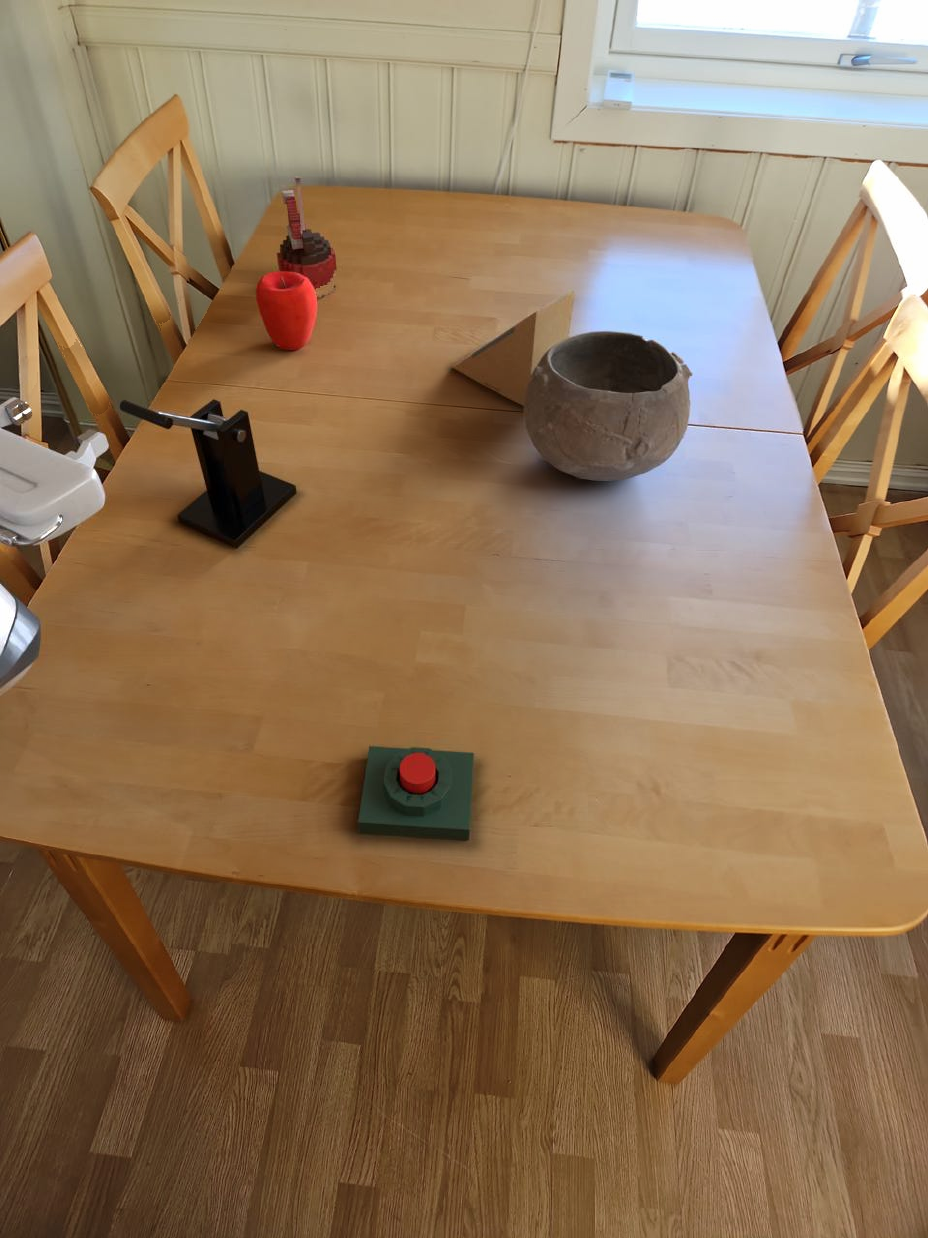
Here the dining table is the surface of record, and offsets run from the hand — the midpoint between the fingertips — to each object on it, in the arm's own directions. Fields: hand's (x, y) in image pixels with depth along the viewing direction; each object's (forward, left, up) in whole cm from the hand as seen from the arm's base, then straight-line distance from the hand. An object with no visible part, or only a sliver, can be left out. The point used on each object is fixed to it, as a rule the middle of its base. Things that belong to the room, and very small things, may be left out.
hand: (62, 421), depth 75 cm
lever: (+2, +13, -9) cm, 16 cm away
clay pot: (+42, +46, -24) cm, 67 cm away
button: (+40, -11, -20) cm, 46 cm away
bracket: (+3, +18, -24) cm, 30 cm away
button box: (+40, -11, -24) cm, 48 cm away
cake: (-16, +72, -24) cm, 78 cm away
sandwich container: (+24, +60, -24) cm, 69 cm away
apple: (-10, +55, -24) cm, 61 cm away
